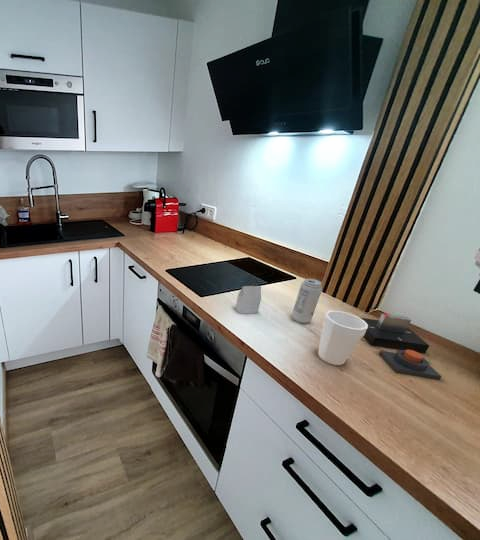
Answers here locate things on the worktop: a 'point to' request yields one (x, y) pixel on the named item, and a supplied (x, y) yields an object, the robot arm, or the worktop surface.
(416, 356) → the button
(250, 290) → the grey tapered block
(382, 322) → the lever
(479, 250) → the robot arm
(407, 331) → the tap deck
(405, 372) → the button block
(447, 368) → the worktop surface
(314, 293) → the energy drink can
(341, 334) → the foam cup
